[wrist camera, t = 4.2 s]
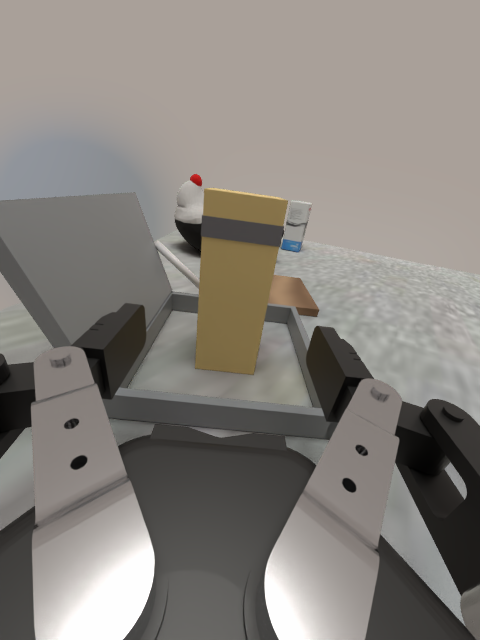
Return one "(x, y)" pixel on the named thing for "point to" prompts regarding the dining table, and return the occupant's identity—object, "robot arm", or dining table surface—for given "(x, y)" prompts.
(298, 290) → the board
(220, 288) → the block
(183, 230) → the toy
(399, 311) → the dining table surface
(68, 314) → the case
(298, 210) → the ink box
